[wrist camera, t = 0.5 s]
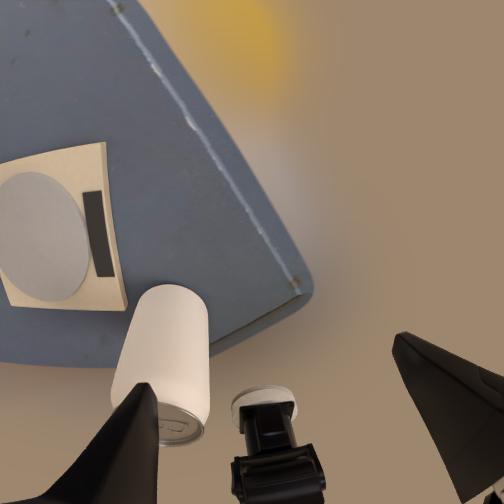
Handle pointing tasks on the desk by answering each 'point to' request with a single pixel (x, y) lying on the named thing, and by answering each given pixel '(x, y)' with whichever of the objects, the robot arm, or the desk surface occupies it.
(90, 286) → the scale
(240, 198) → the desk surface
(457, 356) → the robot arm
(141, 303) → the can
